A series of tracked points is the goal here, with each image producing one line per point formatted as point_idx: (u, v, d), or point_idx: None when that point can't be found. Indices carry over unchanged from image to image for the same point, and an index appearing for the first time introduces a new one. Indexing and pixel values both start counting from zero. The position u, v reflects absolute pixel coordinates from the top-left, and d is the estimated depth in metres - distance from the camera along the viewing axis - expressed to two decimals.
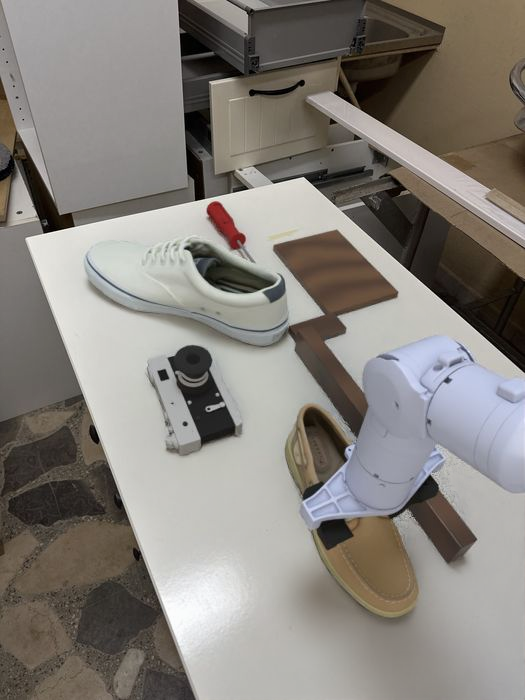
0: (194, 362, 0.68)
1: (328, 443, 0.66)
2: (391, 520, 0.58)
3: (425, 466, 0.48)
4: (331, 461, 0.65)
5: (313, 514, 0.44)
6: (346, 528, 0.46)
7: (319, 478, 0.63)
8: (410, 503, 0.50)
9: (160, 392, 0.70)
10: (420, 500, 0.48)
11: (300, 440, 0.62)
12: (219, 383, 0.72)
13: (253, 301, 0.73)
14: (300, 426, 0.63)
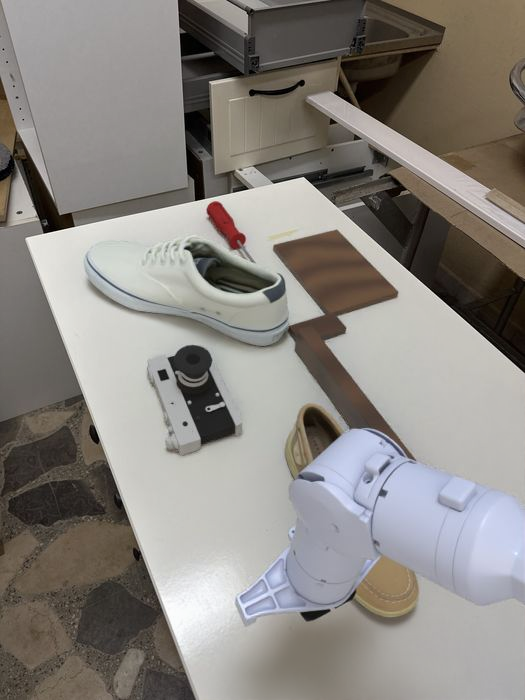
0: (194, 362, 0.68)
1: (328, 443, 0.66)
2: None
3: None
4: None
5: (248, 610, 0.41)
6: None
7: None
8: None
9: (160, 392, 0.70)
10: None
11: (300, 440, 0.62)
12: (219, 383, 0.72)
13: (253, 301, 0.73)
14: (300, 426, 0.63)
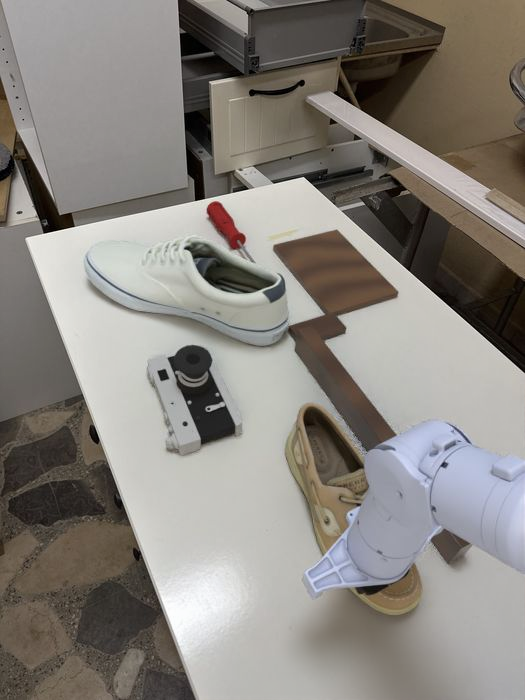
0: (194, 362, 0.68)
1: (328, 442, 0.66)
2: None
3: None
4: (332, 460, 0.65)
5: (315, 584, 0.45)
6: None
7: (320, 477, 0.63)
8: None
9: (160, 392, 0.70)
10: None
11: (301, 440, 0.62)
12: (219, 383, 0.72)
13: (253, 301, 0.73)
14: (300, 426, 0.63)
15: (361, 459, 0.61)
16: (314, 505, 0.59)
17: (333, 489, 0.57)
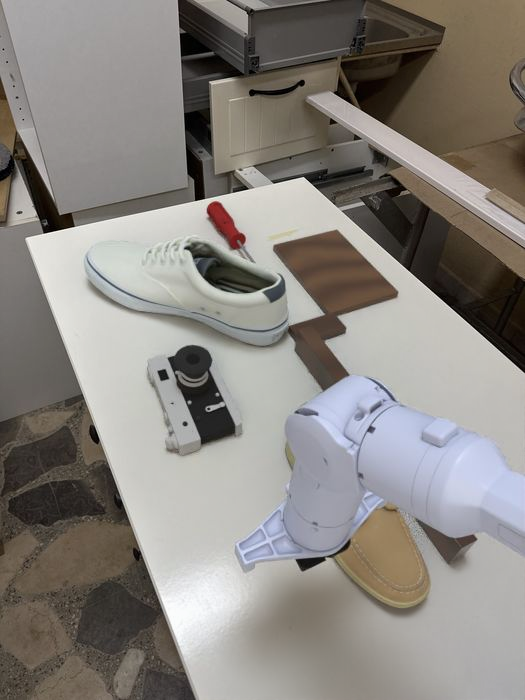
0: (194, 362, 0.68)
1: None
2: (398, 512, 0.58)
3: (368, 503, 0.47)
4: None
5: (246, 556, 0.43)
6: None
7: None
8: None
9: (160, 392, 0.70)
10: (329, 555, 0.45)
11: None
12: (219, 383, 0.72)
13: (253, 301, 0.73)
14: None
15: None
16: None
17: None
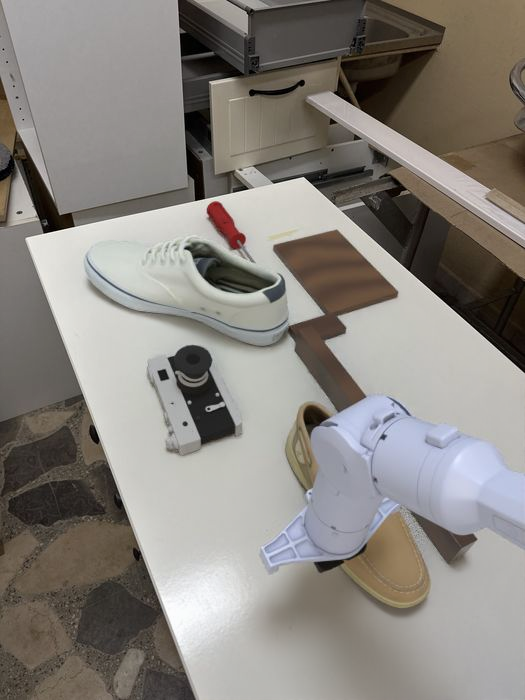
0: (194, 362, 0.68)
1: None
2: (398, 512, 0.58)
3: (383, 509, 0.50)
4: None
5: (271, 559, 0.46)
6: None
7: None
8: None
9: (160, 392, 0.70)
10: (347, 558, 0.49)
11: (302, 439, 0.62)
12: (219, 383, 0.72)
13: (253, 301, 0.73)
14: (301, 425, 0.63)
15: None
16: None
17: None
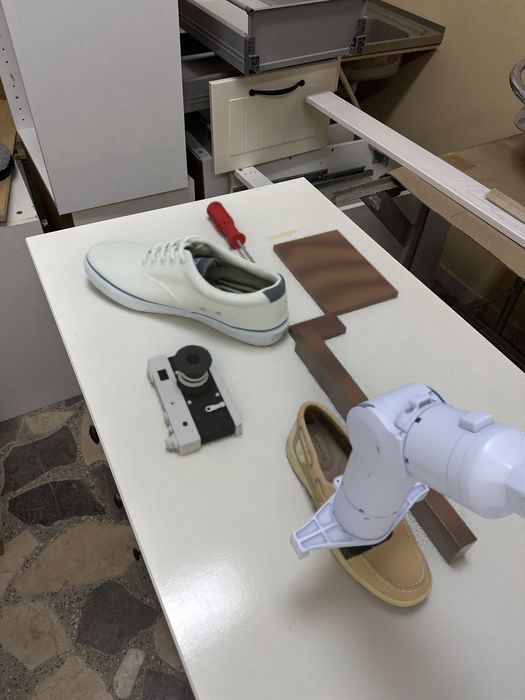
0: (194, 362, 0.68)
1: (329, 439, 0.67)
2: None
3: (409, 496, 0.51)
4: (333, 456, 0.65)
5: (302, 544, 0.47)
6: None
7: (323, 475, 0.63)
8: None
9: (160, 392, 0.70)
10: (374, 544, 0.50)
11: (303, 439, 0.62)
12: (219, 383, 0.72)
13: (253, 301, 0.73)
14: (302, 425, 0.63)
15: None
16: (320, 503, 0.60)
17: None
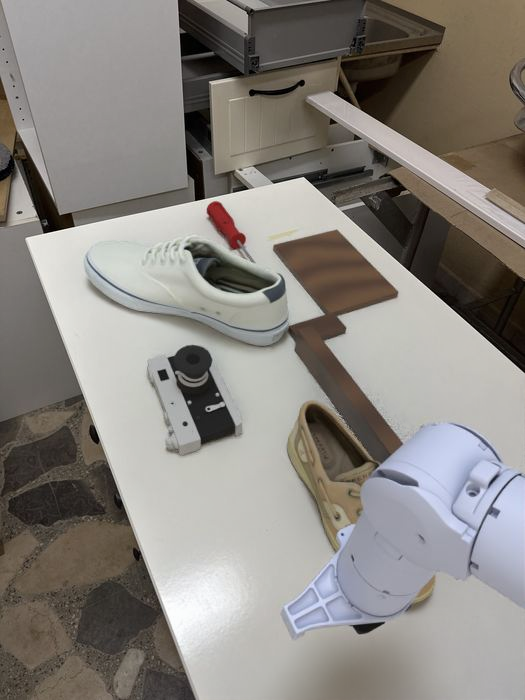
0: (194, 362, 0.68)
1: (330, 438, 0.67)
2: None
3: None
4: (335, 455, 0.65)
5: (297, 622, 0.36)
6: None
7: (325, 474, 0.64)
8: None
9: (160, 392, 0.70)
10: None
11: (304, 438, 0.62)
12: (219, 383, 0.72)
13: (253, 301, 0.73)
14: (303, 424, 0.63)
15: (365, 453, 0.62)
16: (323, 502, 0.60)
17: (342, 485, 0.58)
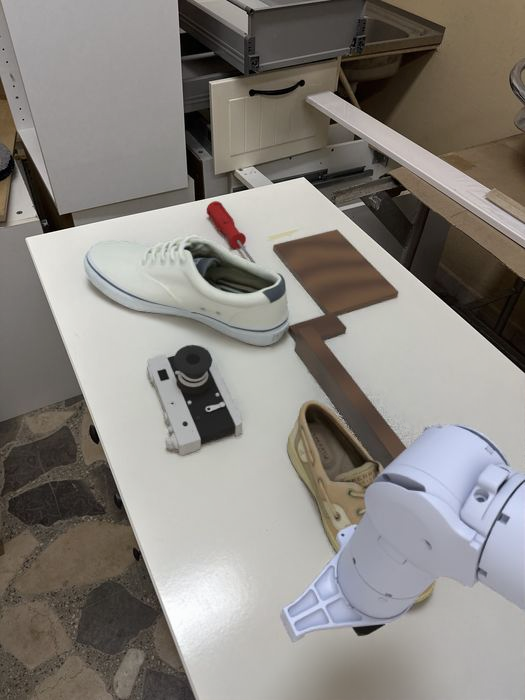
0: (194, 362, 0.68)
1: (330, 438, 0.67)
2: None
3: None
4: (335, 455, 0.65)
5: (297, 624, 0.36)
6: None
7: (325, 474, 0.64)
8: None
9: (160, 392, 0.70)
10: None
11: (304, 438, 0.63)
12: (219, 383, 0.72)
13: (253, 301, 0.73)
14: (303, 424, 0.63)
15: (365, 453, 0.62)
16: (323, 502, 0.60)
17: (342, 485, 0.58)
